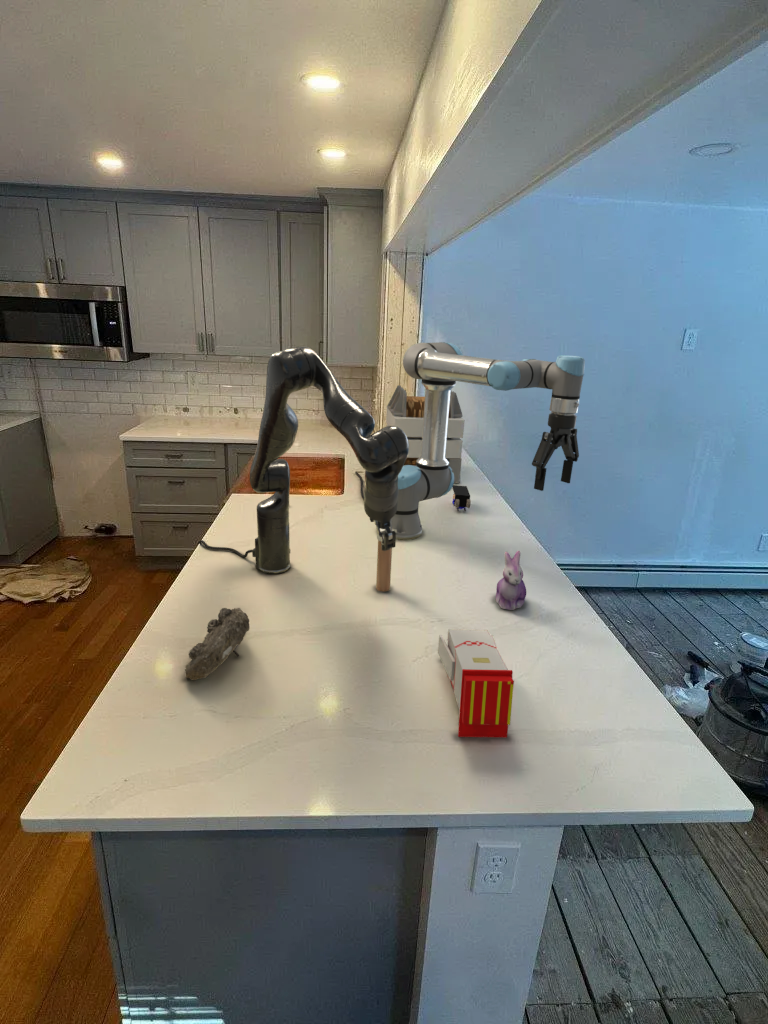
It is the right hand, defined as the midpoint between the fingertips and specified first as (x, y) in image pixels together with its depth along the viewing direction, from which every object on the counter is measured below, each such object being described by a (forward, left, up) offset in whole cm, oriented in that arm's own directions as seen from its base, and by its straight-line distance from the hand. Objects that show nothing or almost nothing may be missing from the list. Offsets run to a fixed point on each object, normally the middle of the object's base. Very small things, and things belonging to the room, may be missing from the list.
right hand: (552, 485), depth 166 cm
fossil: (-17, -96, -28) cm, 102 cm away
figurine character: (-55, +25, -28) cm, 67 cm away
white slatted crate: (-101, +46, -28) cm, 115 cm away
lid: (-20, -46, -11) cm, 52 cm away
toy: (+26, -62, -28) cm, 72 cm away
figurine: (+7, -23, -28) cm, 37 cm away
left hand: (-10, -57, -5) cm, 58 cm away
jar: (-20, -46, -28) cm, 58 cm away
